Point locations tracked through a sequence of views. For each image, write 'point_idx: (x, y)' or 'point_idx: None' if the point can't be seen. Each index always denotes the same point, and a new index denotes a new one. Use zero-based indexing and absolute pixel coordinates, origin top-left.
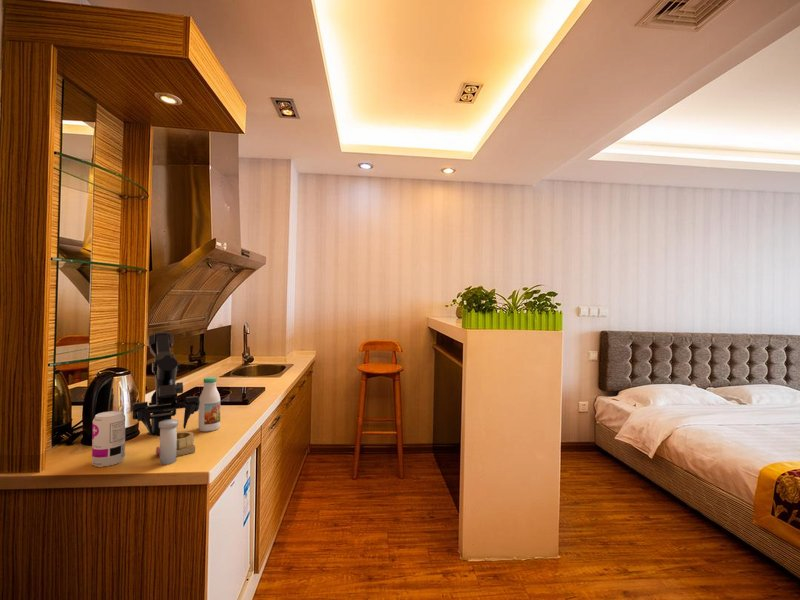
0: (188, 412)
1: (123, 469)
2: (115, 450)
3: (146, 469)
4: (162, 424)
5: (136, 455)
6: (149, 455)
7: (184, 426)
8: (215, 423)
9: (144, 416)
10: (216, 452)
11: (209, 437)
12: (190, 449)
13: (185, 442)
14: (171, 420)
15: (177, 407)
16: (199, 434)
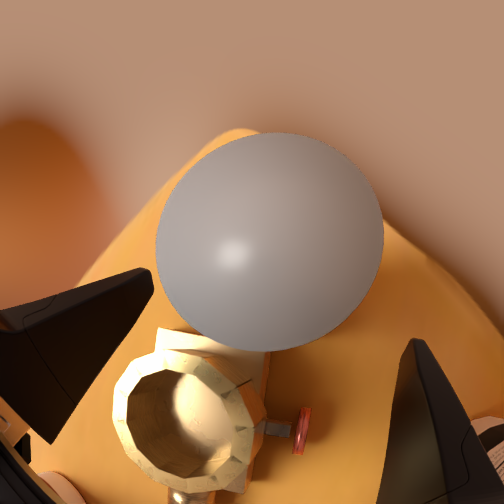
0: (20, 310)
1: (461, 347)
2: (497, 434)
3: (398, 277)
4: (355, 166)
5: (366, 488)
6: (329, 454)
7: (143, 270)
8: (40, 476)
9: (500, 492)
10: (128, 261)
11: (82, 438)
12: (182, 332)
13: (181, 350)
14: (213, 257)
15: (22, 464)
16: (98, 494)
